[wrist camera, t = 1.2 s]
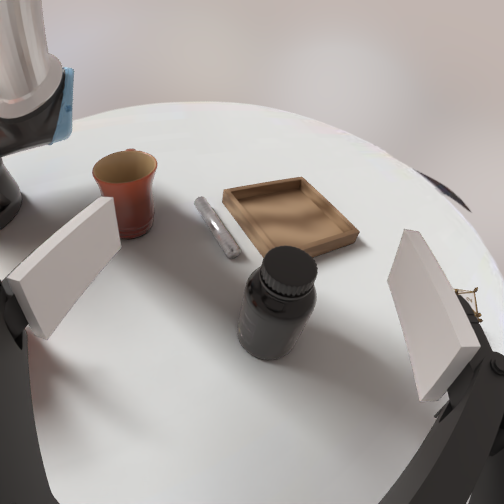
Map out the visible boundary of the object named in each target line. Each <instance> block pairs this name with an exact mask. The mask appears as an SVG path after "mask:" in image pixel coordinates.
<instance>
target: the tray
mask: <svg viewBox="0 0 504 504" xmlns="http://www.w3.org/2000/svg"><path fill="white" fill-rule="evenodd" d="M222 203H223V204H224V205H225V207H226V208H227V209H228V211H229V212H230V213H231V215H232V216H233V217H234V219H235V220H236V221H237V223H238V224H239V225H240V227H241V228H242V229H243V231H244V232H245V234H246V235H247V236H248V238H249V239H250V240H251V242H252V243H253V244H254V246H255V247H256V248H257V250H258V251H259V252H260V254H261V255H262V256H263V258H264V257H265V254H266V253H268V251H269V250H271V249H272V248H275V247H279V246H285V245H286V246H292V247H296V248H299V249H301V250H303V251H305V252H306V253H308V254H309V255H310V256H311V257H312V258H313V257H316V256H318V255H321V254H324V253H327V252H330V251H333V250H336V249H338V248H341V247H344V246H347V245H350V244H353V243H354V242H355V240H356V238H357V236H358V234H359V231H358V230H357V229H356V228H355V227H354V226H353V225H352V224H351V223H350V222H349V221H348V220H347V219H346V218H345V217H344V216H343V215H342V214H341V213H340V212H339V211H338V210H337V209H336V208H335V207H334V206H333V205H332V204H331V203H330V202H329V201H328V200H327V199H326V198H325V197H323V196H322V195H321V194H320V193H319V192H318V191H317V190H316V189H315V188H314V187H313V186H312V185H310V184H309V183H308V182H307V181H306V180H305V179H304V178H303V177H297V178H290V179H283V180H277V181H271V182H265V183H259V184H253V185H247V186H241V187H236V188H230V189H225V190H224V191H223V199H222Z"/></svg>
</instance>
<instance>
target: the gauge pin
mask: <svg viewBox="0 0 504 504" xmlns="http://www.w3.org/2000/svg"><path fill="white" fill-rule="evenodd" d="M194 205H195V207H196V208H197V210H198V211H199V213H200V215H201V216H202V218H203V219H204V221H205V222H206V224H207V226H208V227H209V229H210V230H211V232H212V234H213V235H214V237H215V238H216V240H217V241H218V243H219V244H220V246H221V248H222V249H223V251H224V252H225V254H226V255H227V257H228V258H229V259H233V258H235V257H237V256H238V255H239V254H240V252H241V249H240V248H239V246H238V245H237V244H236V242H235V241H234V239H233V238H232V236H231V235H230V233H229V232H228V231H227V229H226V228H225V226H224V225H223V223H222V222H221V220H220V219H219V218H218V216H217V215H216V213H215V212H214V210H213V209H212V207H211V206H210V204H209V203H208V202H207V200H206V199H205V198H204V197H198V198H197V199H196V200H195V201H194Z"/></svg>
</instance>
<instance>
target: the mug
mask: <svg viewBox="0 0 504 504" xmlns="http://www.w3.org/2000/svg"><path fill="white" fill-rule="evenodd" d="M156 169H157V161H156V159H155V158H154V157H153V156H152V155H150V154H148V153H145V152H142V151H136V150H135V149H127V150H126V151H121V152H116V153H113V154H110V155H108V156H106V157H104V158H102V159H101V160H99V161H98V162H97V163H96V164H95V166H94V167H93V171H92V174H93V177H94V179H95V181H96V182H97V184H98V186H99V189H100V191H101V196H102V197H113V199H114V206H115V213H116V219H117V225H118V231H119V237H120V238H124V239H131V238H136V237H139V236H141V235H143V234H145V233H146V232H147V231H148V230H149V229H150V228H151V226H152V224H153V218H154V201H153V190H152V184H153V179H154V175H155V172H156Z"/></svg>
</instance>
